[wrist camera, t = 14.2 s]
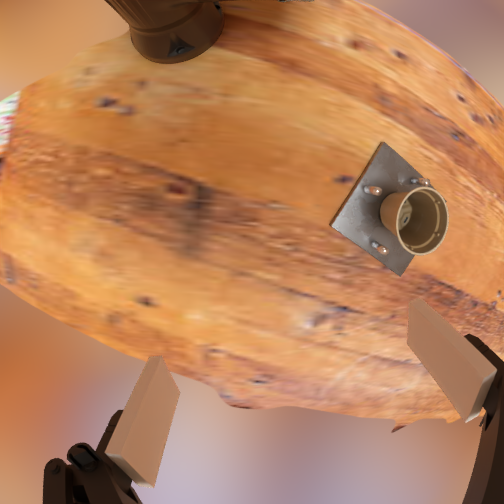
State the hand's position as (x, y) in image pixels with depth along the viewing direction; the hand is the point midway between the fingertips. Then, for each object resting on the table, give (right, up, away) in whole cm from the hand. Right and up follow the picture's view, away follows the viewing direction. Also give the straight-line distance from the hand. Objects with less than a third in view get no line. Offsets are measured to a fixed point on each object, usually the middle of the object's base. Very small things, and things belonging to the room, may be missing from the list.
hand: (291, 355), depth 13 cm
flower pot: (+21, +12, +28) cm, 37 cm away
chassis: (+21, +12, +29) cm, 37 cm away
